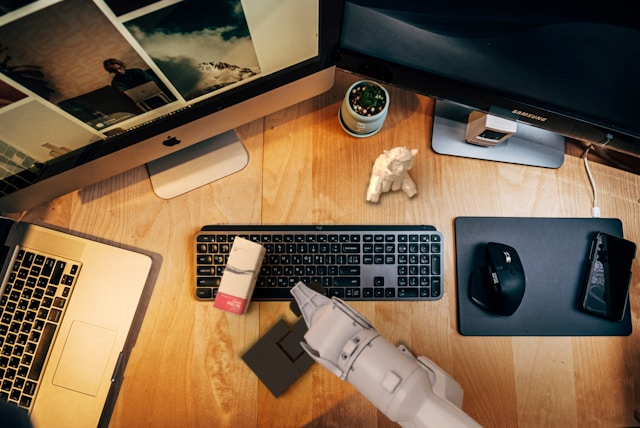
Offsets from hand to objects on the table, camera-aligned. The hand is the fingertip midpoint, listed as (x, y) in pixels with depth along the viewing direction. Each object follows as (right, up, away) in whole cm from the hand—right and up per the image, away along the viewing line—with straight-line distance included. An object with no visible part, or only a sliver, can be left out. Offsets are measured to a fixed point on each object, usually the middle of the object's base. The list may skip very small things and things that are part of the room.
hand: (328, 320), depth 69 cm
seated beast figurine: (+11, +23, +13) cm, 29 cm away
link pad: (-3, -3, +8) cm, 9 cm away
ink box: (-16, 0, +4) cm, 17 cm away
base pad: (-8, -8, +7) cm, 14 cm away
